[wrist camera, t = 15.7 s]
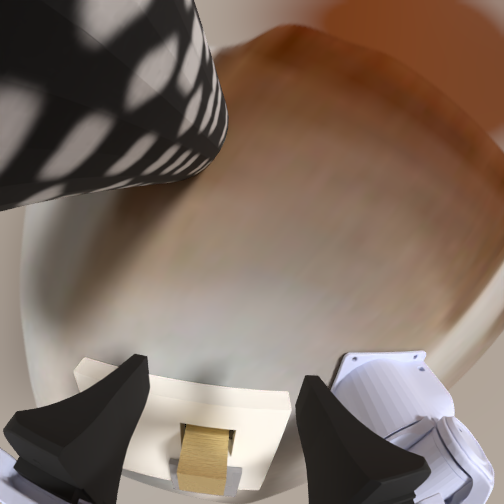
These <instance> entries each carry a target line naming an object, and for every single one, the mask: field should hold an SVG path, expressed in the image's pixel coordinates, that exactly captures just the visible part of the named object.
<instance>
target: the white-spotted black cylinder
mask: <svg viewBox="0 0 504 504" xmlns="http://www.w3.org/2000/svg"><path fill="white" fill-rule="evenodd" d="M227 130H228V111H227V105H226V102H225V99H224V95H223V92H222V89H221V85H220V82H219V79H218V76H217V72H216V69H215V66H214V62H213V59H212V56H211V53H210V49H209V46H208V43H207V40H206V37H205V34H204V30H203V27H202V24H201V21H200V18H199V15H198V11H197V8H196V5H195V2H194V0H0V211H4V210H8V209H12V208H16V207H20V206H25V205H29V204H34V203H39V202H43V201H48V200H53V199H59V198H64V197H69V196H75V195H81V194H87V193H93V192H99V191H106V190H113V189H120V188H127V187H135V186H144V185H152V184H162V183H172V182H177V181H181V180H185V179H187V178H189V177H192V176H194V175H196V174H197V173H199V172H200V171H202V170H203V169H204V168H205V167H207V166H208V165H209V164H210V163H211V162H212V161H213V160H214V158H215V157H216V155H217V154H218V153H219V151H220V150H221V147H222V145H223V143H224V141H225V138H226V134H227Z"/></svg>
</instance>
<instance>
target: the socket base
mask: <svg viewBox="0 0 504 504" xmlns="http://www.w3.org/2000/svg"><path fill="white" fill-rule="evenodd" d="M116 368H118V366H114V365H110V364H107V363H103V362H100V361H96V360H93V359H90V358H87V357H84V358H83V359H82V361H81V362H80V363H79V364H78V366H77V367H76V368H75V370H74V371H73V372H74V375H75V379H76V382H77V385H78V388H79V391H80V392H82V391H84V390H86V389H88V388H89V387H91V386H93V385H94V384H96V383H97V382H99V381H100V380H102V379H103V378H104V377H106V376H107V375H109V374H110V373H111V372H113V371H114V370H115V369H116ZM149 380H150V391H149V395H148V398H147V402H146V405H145V408H144V410H143V412H142V415H141V417H140V419H139V421H138V424H137V426H136V428H135V431H134V433H133V435H132V438H131V440H130V443H129V445H128V449H127V452H126V456H125V460H124V464H123V469H127V470H130V471H133V472H137V473H141V474H144V475H148V476H152V477H157V478H161V479H166V480H170V481H172V478H171V473H170V468H169V460H170V458H171V459H176V460H179V458H180V453H181V449H182V444H183V439H184V434H185V424H191V425H197V426H204V427H212V428H220V429H229V430H234V431H233V436H232V439H229V441H228V458H227V467H239V468H242V475H241V479H240V483H239V486H238V489H240V490H260V488H261V485H262V483H263V481H264V479H265V476H266V474H267V472H268V469H269V467H270V465H271V462H272V460H273V458H274V455H275V453H276V450H277V448H278V445H279V443H280V440H281V438H282V435H283V432H284V430H285V427H286V424H287V422H288V419H289V416H290V413H291V411H292V410H291V404H290V399H289V393H288V391H268V390H254V389H242V388H232V387H224V386H215V385H208V384H201V383H194V382H188V381H182V380H177V379H171V378H166V377H161V376H156V375H151V374H149Z"/></svg>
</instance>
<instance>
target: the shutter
mask: <svg viewBox="0 0 504 504" xmlns="http://www.w3.org/2000/svg"><path fill="white" fill-rule="evenodd" d="M178 463H179V460H176V459H171V458H170V460H169V468H170V473H171V478H172V483H173V488H174V489H177V490H179V484H178V478H177V468H178ZM241 475H242V468H239V467H227V477H226V484H225V489H224V495H219V496H231V497H235V496H236V493H237V489H238V486H239V483H240V479H241ZM182 491H185V490H182ZM188 492H191V491H188ZM195 493H197V492H195ZM202 494H205V493H202ZM210 495H213V494H210Z"/></svg>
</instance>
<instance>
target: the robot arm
mask: <svg viewBox="0 0 504 504" xmlns="http://www.w3.org/2000/svg"><path fill="white" fill-rule="evenodd" d="M425 356H426V353H425V351H407V352H377V353H347V354H345V355H344V357H343V360H342V362H341V365H340V368H339V370H338V373H337V375H336V378H335V380H334V383H333V385H332V388H331V390H329V388H328V387H327V386H326V385H325V384H324V382H323V381H322V380H321V379H320V377H319V376H313V375H305V378H304V381H303V384H302V387H301V390H300V393H299V396H298V399H297V402H296V404H295V407H296V420H297V426H298V431H299V435H300V440H301V444H302V448H303V453H304V457H305V462H306V468H307V479H308V494H309V504H485V503H486V501H487V499H488V497H489V495H490V493H491V491H492V489H493V486H494V470H493V467H492V465H491V463H490V462H489V460H488V459H487V458H486V456H485V454H484V451H483V450H482V448H481V446H480V445H479V443H478V442H477V440H476V439H475V438H474V436H473V435H472V434H471V432H470V431H469V430H468V429H467V428H466V427H465V425H463V423H461V421H459V420H458V419H457V418H455V417H454V405H453V400H452V398H451V395H450V394H449V392H448V391H447V390H446V388H445V387H444V386H443V384H442V383H441V382H440V381H439V379H438V378H437V377H436V376H435V375H434V373H433V372H432V371H431V370H430V368H429V367H428V366H427V365H426V364H425V362H424V359H425ZM354 357H356V358H355V359H353V358H354ZM149 391H150V380H149V370H148V359H147V356H143V355H138V354H134V355H133V356H131V357H130V358H129V359H128V360H126V361H125V362H124V363H123V364H121V365H120V366H119V367H118V368H116V369H115V370H114V371H113V372H111V373H110V374H109V375H107V376H106V377H104V378H103V379H102V380H100V381H99V382H97V383H96V384H94V385H93V386H91V387H89V388H88V389H86V390H84V391H82V392H80V393H78V394H76V395H74V396H72V397H70V398H67V399H65V400H62V401H60V402H57V403H54V404H51V405H48V406H44V407H40V408H36V409H30V410H23V411H17V412H16V413H15V414H14V416H13V417H12V418H11V419H10V421H9V422H8V424H7V425H6V426H5V428H4V429H3V432H4V435H5V437H6V439H7V440H8V442H9V443H10V445H11V446H12V447H13V449H14V450H15V451H16V452H17V454H18V455H19V456H20V457H19V458H18V460H16V459H15V458H14V457H12V456H11V455H10V454H8V453H7V452H6V451H4V450H3V449H1V448H0V502H1V503H2V504H116V500H117V493H118V487H119V481H120V477H121V472H122V468H123V464H124V460H125V456H126V452H127V449H128V445H129V443H130V440H131V438H132V435H133V433H134V431H135V428H136V426H137V424H138V421H139V419H140V417H141V415H142V412H143V410H144V408H145V405H146V402H147V398H148V395H149Z"/></svg>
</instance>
